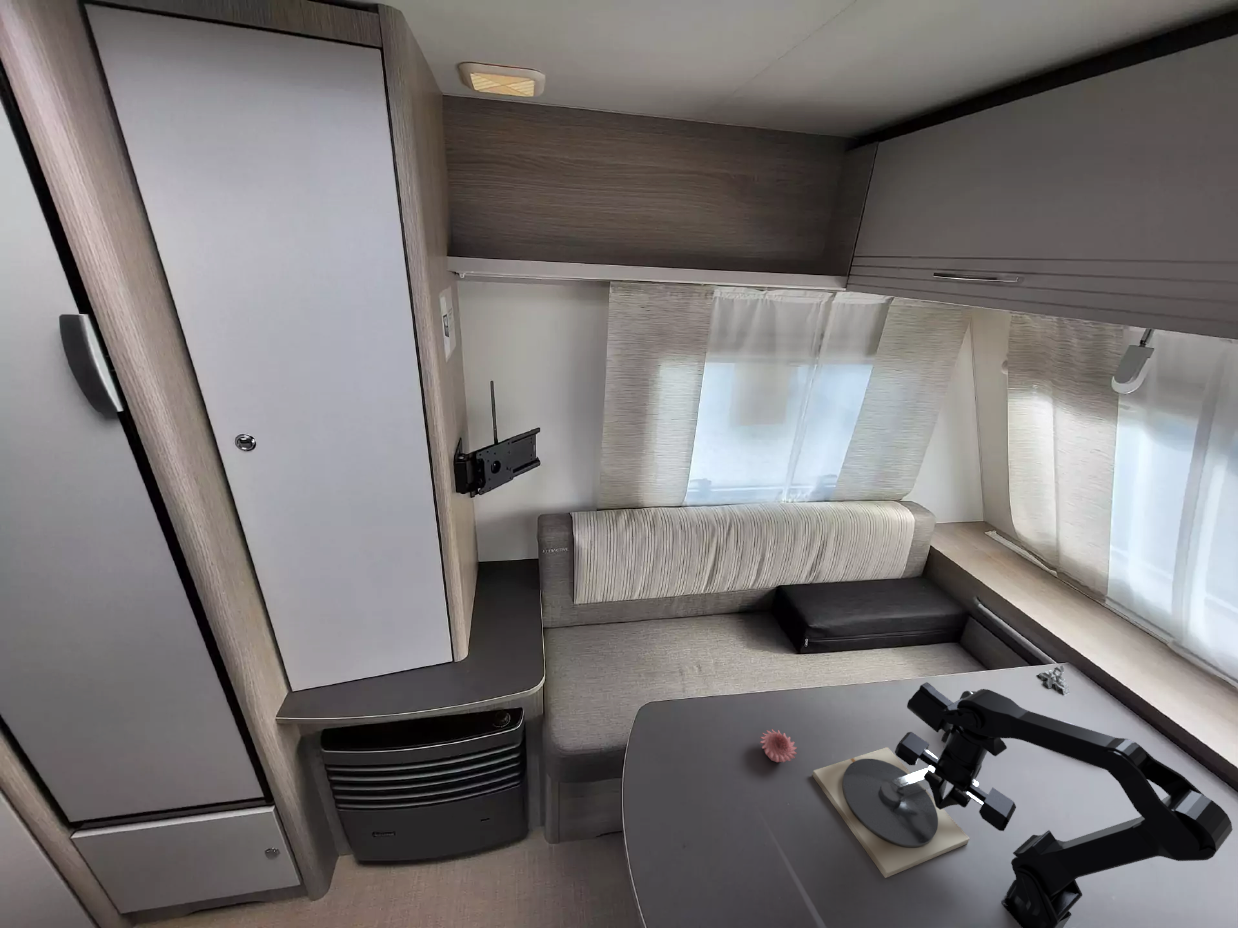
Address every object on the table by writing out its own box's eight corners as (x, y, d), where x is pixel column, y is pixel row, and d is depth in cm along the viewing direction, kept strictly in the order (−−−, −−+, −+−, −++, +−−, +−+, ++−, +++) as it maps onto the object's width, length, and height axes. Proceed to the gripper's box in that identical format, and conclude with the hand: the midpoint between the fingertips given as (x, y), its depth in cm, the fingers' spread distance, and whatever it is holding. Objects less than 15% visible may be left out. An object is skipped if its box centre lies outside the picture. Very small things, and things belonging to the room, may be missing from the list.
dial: (887, 860, 91) (895, 841, 89) (824, 774, 106) (829, 756, 104) (964, 828, 97) (973, 810, 95) (894, 751, 112) (901, 734, 110)
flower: (786, 739, 115) (790, 722, 113) (800, 773, 108) (805, 754, 105) (752, 740, 114) (756, 722, 112) (763, 774, 107) (768, 755, 105)
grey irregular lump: (1013, 678, 137) (1024, 656, 134) (1034, 671, 140) (1044, 649, 137) (1049, 704, 129) (1061, 682, 126) (1070, 696, 132) (1082, 673, 130)
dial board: (967, 843, 96) (970, 837, 96) (885, 877, 90) (887, 872, 89) (885, 751, 114) (887, 746, 113) (812, 775, 107) (813, 769, 107)
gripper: (1039, 764, 91) (1008, 820, 97) (928, 695, 104) (907, 749, 110) (1020, 801, 84) (988, 859, 90) (904, 723, 97) (883, 778, 103)
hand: (938, 806), depth 98 cm, fingers closed
